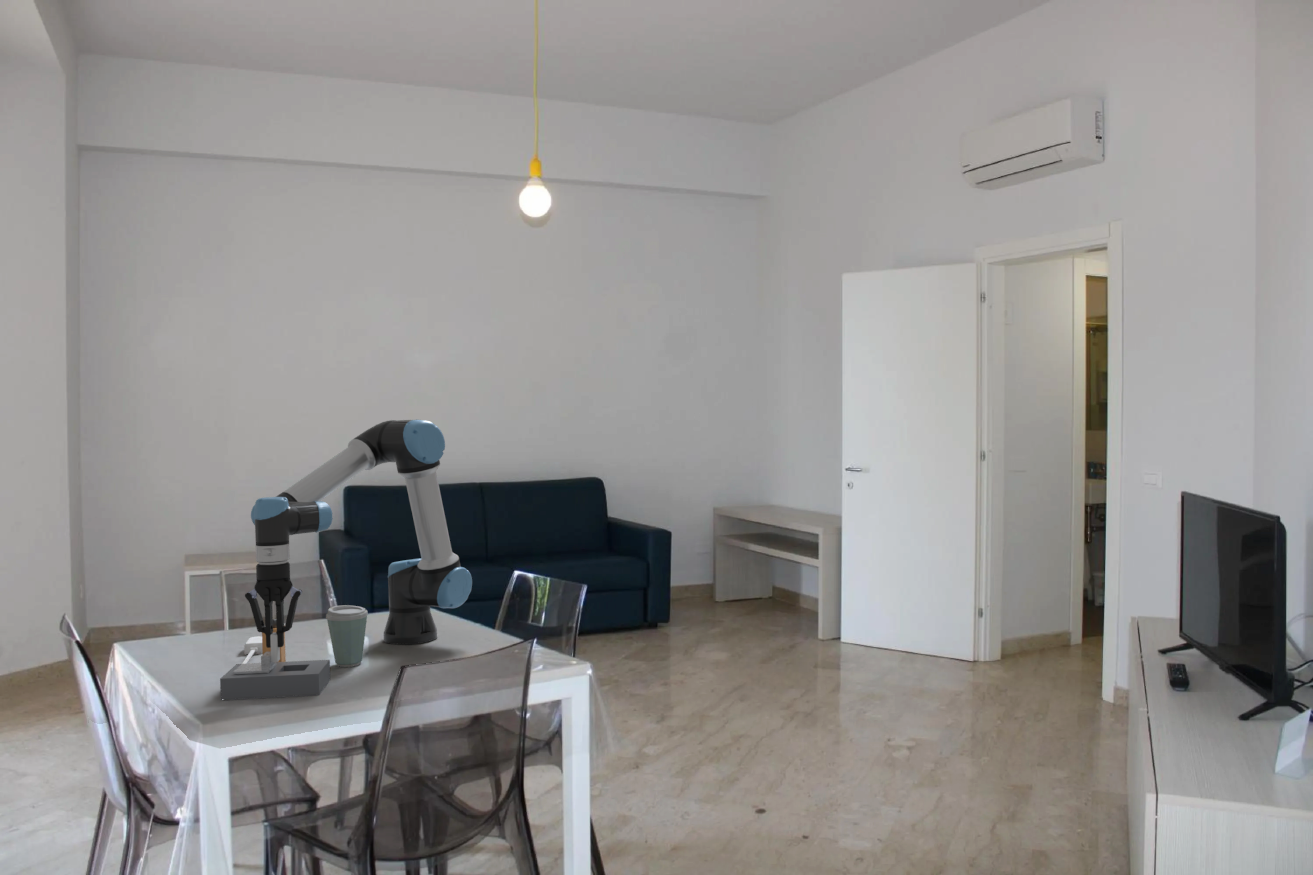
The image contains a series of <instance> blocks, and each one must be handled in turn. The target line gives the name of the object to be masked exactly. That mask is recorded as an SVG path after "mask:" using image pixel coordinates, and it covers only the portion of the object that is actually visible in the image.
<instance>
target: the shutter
mask: <svg viewBox="0 0 1313 875" xmlns="http://www.w3.org/2000/svg"><path fill="white" fill-rule="evenodd" d="M240 664H241V665H240V666H239V667H238V668H237V669H236V670H235V671H234V672H233V675H234V674H255V673H269V672H270V671H271V670H272V669H273V668H274V667H275V666H276V665H277V662H271V651H269V652H265V653H264V654H261V655H260V662H252V663H251V662H250V663H249V662H248V663H247V664H242V663H240Z"/></svg>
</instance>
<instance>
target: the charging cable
mask: <svg viewBox="0 0 1313 875" xmlns="http://www.w3.org/2000/svg"><path fill="white" fill-rule="evenodd" d="M243 646H244V648H243V649H244V651H243V652H244V655H246V654H248V655H246V657H245V659H244V660H243V662H242V663H241V664H248V663H249V661H250V660H251V658H252V657H253V655H263V650H262V635H261V636H251V637H249V638H248V639H247V640H246V642H245V643H244V645H243Z"/></svg>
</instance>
